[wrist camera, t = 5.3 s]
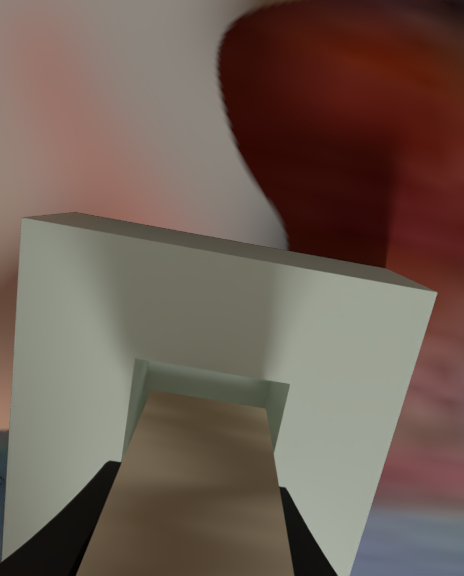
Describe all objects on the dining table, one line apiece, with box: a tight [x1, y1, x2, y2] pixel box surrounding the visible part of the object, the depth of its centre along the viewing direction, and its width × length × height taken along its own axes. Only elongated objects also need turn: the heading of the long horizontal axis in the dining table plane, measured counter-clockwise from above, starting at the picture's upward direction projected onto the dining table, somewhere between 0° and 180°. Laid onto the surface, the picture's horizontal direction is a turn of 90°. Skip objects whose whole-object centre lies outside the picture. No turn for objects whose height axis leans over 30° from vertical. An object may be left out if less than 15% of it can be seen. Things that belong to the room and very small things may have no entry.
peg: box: [76, 390, 294, 576], centre depth 10 cm, size 4×4×8 cm
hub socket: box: [2, 212, 437, 576], centre depth 17 cm, size 14×14×4 cm
